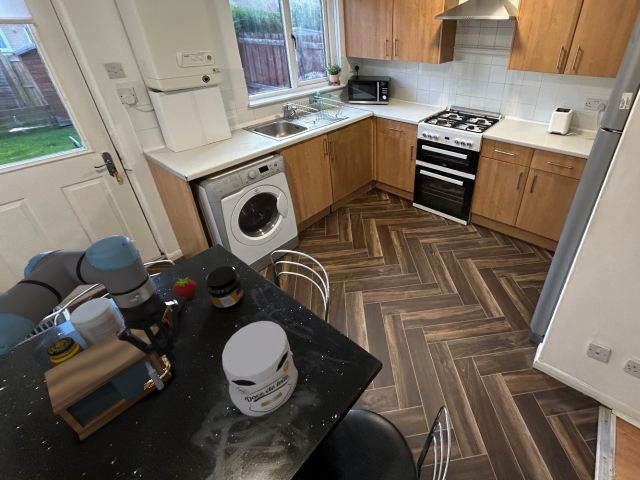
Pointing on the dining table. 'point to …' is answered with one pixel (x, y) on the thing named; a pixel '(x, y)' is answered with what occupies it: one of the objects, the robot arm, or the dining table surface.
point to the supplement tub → (96, 320)
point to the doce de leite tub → (259, 368)
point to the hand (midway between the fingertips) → (171, 358)
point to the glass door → (139, 377)
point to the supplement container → (224, 287)
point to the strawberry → (185, 287)
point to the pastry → (164, 319)
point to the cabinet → (96, 383)
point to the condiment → (63, 350)
